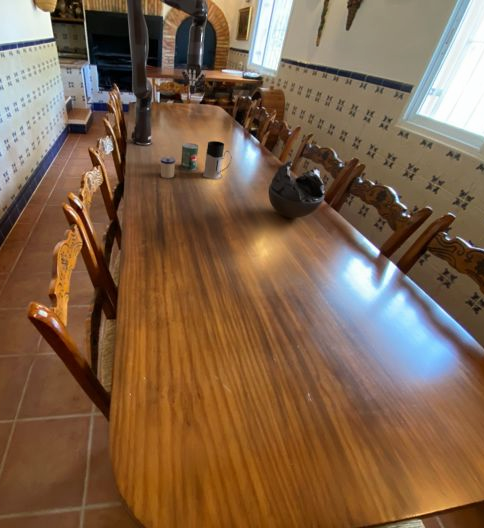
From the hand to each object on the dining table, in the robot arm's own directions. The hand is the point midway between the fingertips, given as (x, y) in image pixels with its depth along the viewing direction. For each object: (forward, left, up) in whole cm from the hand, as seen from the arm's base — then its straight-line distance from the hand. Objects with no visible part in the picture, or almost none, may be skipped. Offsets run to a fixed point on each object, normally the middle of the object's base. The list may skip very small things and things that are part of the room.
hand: (192, 93), depth 153 cm
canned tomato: (+4, -26, -29) cm, 39 cm away
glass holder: (+19, -34, -29) cm, 49 cm away
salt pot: (-4, -39, -29) cm, 49 cm away
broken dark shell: (+50, -63, -29) cm, 86 cm away
